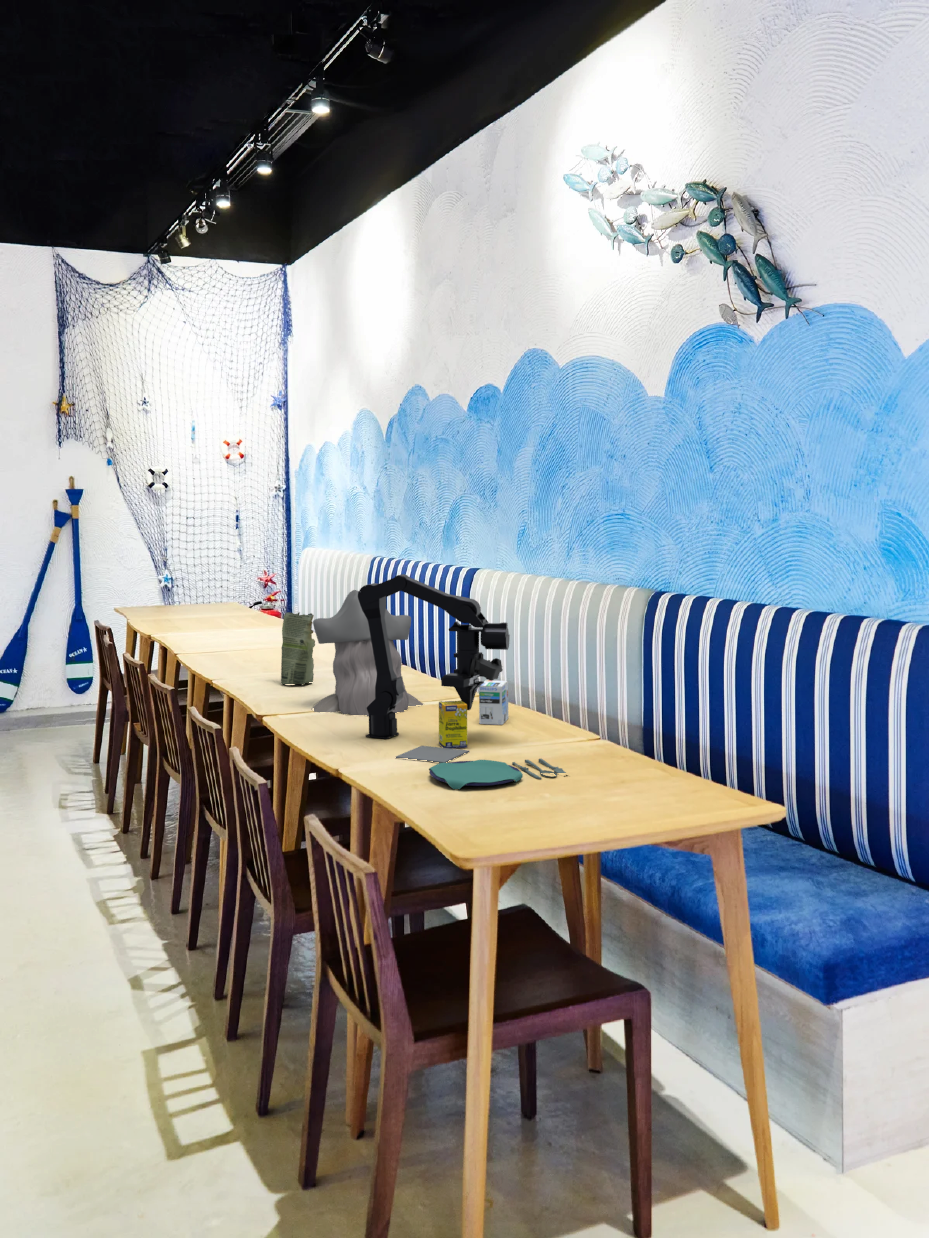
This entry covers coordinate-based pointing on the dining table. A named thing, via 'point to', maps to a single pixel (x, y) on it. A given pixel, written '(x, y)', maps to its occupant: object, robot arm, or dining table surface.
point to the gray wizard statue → (358, 658)
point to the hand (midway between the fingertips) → (468, 709)
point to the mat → (433, 754)
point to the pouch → (297, 649)
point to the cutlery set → (484, 772)
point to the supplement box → (453, 724)
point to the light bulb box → (493, 702)
